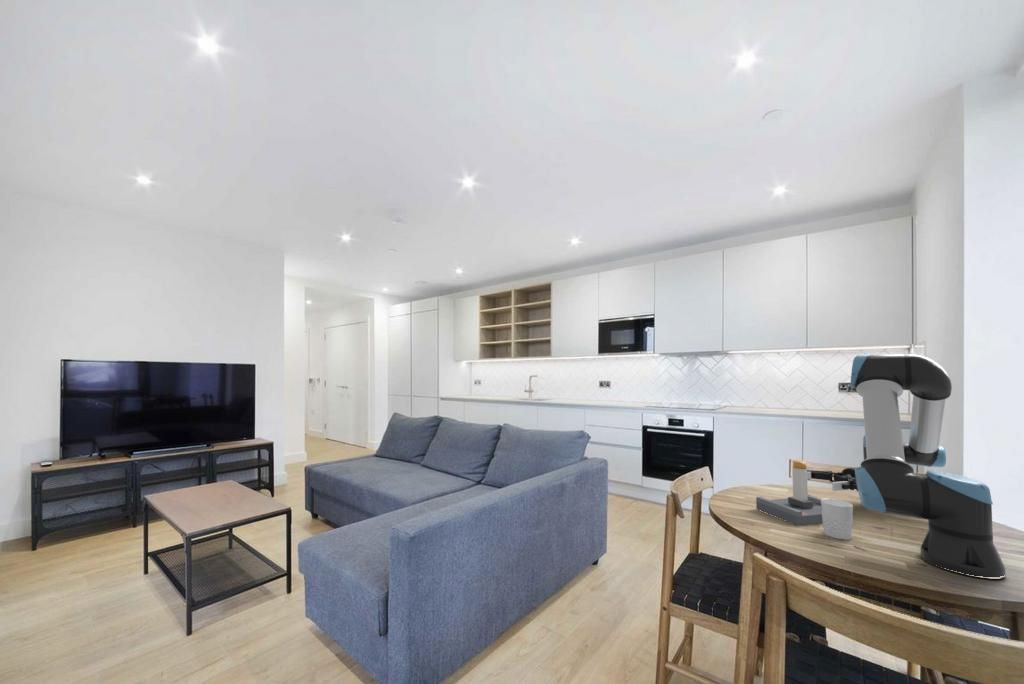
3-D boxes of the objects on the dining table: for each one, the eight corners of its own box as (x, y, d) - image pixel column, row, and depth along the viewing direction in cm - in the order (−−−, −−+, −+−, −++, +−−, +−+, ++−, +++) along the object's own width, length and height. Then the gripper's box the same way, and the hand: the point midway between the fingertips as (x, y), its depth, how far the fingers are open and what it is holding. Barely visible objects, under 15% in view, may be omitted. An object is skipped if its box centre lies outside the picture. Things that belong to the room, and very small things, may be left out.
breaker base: (847, 520, 142) (847, 506, 142) (797, 525, 136) (797, 511, 136) (803, 505, 157) (803, 493, 157) (756, 509, 151) (756, 496, 151)
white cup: (859, 538, 126) (858, 505, 127) (843, 542, 123) (842, 507, 124) (831, 529, 133) (831, 497, 134) (815, 532, 131) (814, 499, 131)
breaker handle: (813, 507, 144) (812, 463, 145) (804, 508, 143) (803, 464, 144) (796, 502, 150) (796, 459, 151) (788, 502, 149) (787, 460, 150)
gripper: (896, 498, 144) (850, 502, 138) (825, 479, 168) (783, 482, 162) (896, 476, 144) (850, 479, 138) (824, 460, 168) (783, 462, 162)
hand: (814, 481), depth 150 cm, fingers open, 13 cm apart
